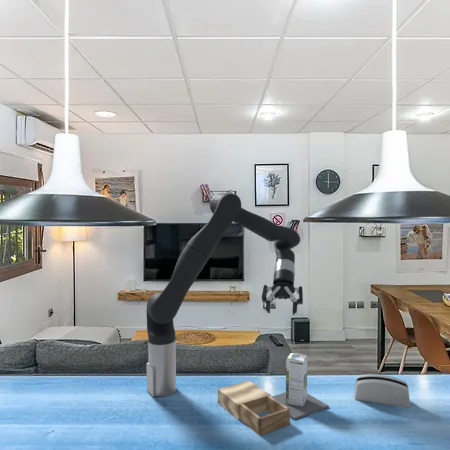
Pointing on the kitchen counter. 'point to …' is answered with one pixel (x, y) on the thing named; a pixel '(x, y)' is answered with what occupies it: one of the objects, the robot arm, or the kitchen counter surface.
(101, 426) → the kitchen counter surface
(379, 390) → the grey arched block
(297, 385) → the syrup box
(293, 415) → the mat
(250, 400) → the wooden drawer box
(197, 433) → the kitchen counter surface
